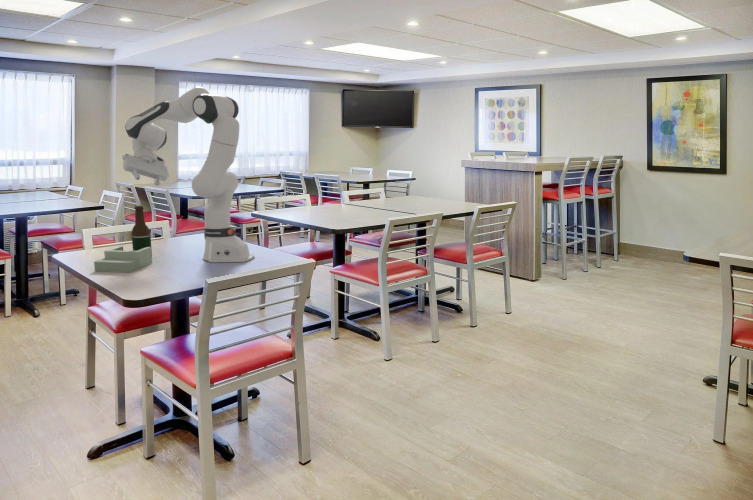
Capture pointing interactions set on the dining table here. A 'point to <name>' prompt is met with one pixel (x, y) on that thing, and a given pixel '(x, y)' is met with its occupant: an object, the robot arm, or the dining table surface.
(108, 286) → the dining table surface
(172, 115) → the robot arm
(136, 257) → the block
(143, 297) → the dining table surface
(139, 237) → the beer bottle
